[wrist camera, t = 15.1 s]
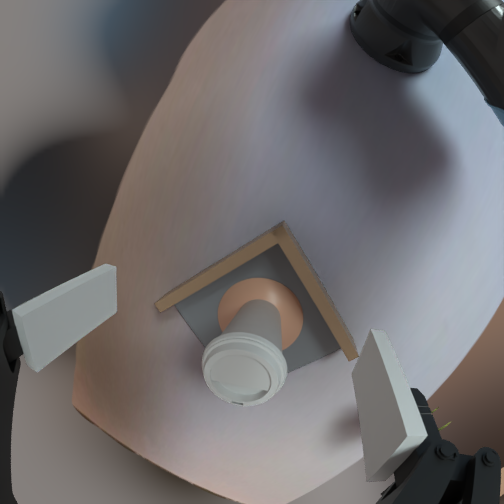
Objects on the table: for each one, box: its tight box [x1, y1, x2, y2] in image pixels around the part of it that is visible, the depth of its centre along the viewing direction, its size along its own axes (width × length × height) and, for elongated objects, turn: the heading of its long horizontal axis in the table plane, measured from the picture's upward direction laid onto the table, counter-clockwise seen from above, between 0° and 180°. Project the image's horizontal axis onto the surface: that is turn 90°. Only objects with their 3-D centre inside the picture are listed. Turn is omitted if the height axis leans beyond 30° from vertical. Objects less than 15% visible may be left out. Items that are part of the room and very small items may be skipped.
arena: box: [155, 221, 359, 373], centre depth 40 cm, size 22×22×5 cm
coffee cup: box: [202, 299, 287, 406], centre depth 34 cm, size 10×10×15 cm
